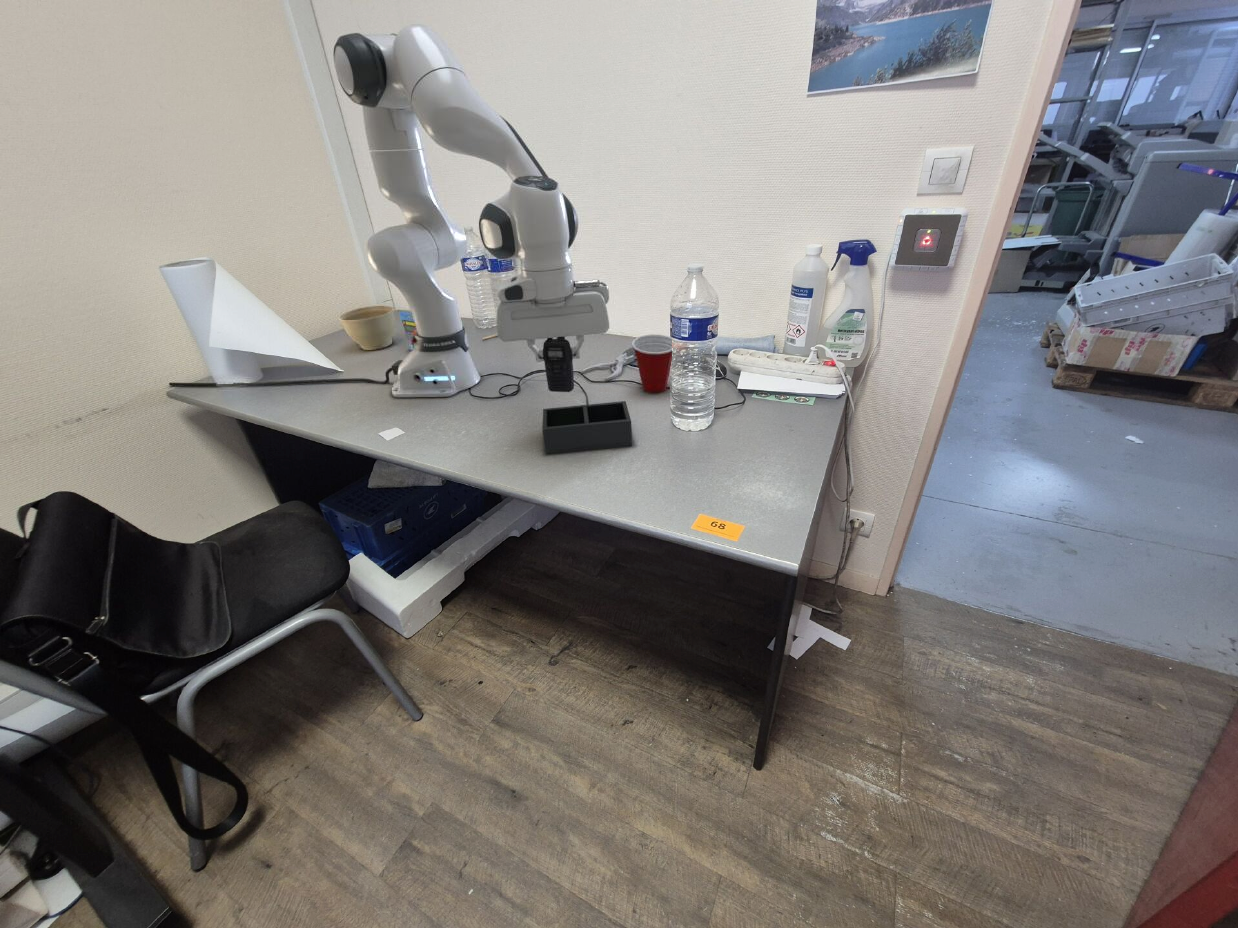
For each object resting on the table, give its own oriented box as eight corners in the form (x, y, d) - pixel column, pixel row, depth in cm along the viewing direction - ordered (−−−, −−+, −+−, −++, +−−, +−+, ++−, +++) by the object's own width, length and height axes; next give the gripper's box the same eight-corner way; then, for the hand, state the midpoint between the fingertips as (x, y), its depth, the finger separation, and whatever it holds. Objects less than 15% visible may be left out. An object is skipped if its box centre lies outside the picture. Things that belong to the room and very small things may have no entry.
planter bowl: (384, 334, 174) (375, 303, 168) (412, 342, 165) (403, 308, 160) (340, 349, 163) (328, 315, 157) (367, 357, 155) (356, 322, 149)
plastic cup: (647, 401, 118) (646, 353, 112) (625, 386, 126) (623, 339, 120) (685, 391, 122) (686, 343, 116) (662, 376, 130) (662, 331, 124)
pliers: (580, 367, 134) (616, 350, 144) (580, 373, 135) (617, 356, 145) (607, 375, 129) (643, 357, 138) (608, 381, 130) (643, 363, 139)
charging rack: (632, 446, 101) (631, 420, 98) (546, 454, 100) (542, 429, 97) (626, 425, 109) (625, 400, 106) (546, 433, 108) (543, 408, 105)
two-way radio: (545, 393, 97) (535, 315, 89) (551, 383, 100) (542, 308, 92) (573, 394, 96) (565, 315, 88) (578, 384, 99) (572, 308, 91)
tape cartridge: (438, 350, 157) (427, 310, 150) (428, 354, 154) (417, 314, 148) (419, 346, 161) (408, 307, 155) (409, 350, 159) (398, 311, 152)
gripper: (606, 274, 91) (611, 348, 98) (492, 284, 89) (505, 358, 97) (609, 282, 85) (614, 360, 93) (488, 292, 84) (503, 370, 91)
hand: (558, 359), depth 95 cm, fingers closed on two-way radio, 5 cm apart
